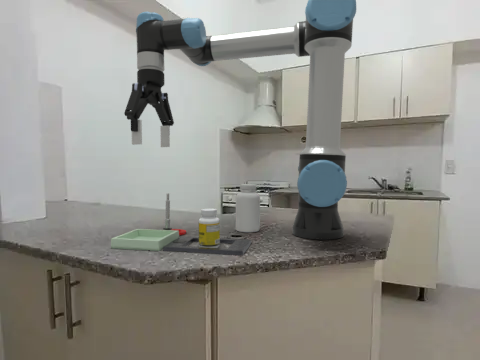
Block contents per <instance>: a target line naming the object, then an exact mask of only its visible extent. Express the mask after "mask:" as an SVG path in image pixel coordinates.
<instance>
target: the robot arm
mask: <svg viewBox="0 0 480 360" xmlns="http://www.w3.org/2000/svg"><path fill="white" fill-rule="evenodd" d="M304 13H305V20H304V21H297V22H296V23H295V25H293V26H283V27H276V28H269V29H268V28H266V29H258V30H249V31H239V32H232V33H224V34H223V33H222V34H215V35H207V31H206V26H205V24H204V21H203V20H202V19H201V18H200V17H185V18H180V19H179V18H178V19H170V20H169V19H168V20H164V18H163V16H162V15H161V14H159V13H158V12H154V11H153V12H150V11H143V12H141V13H139V14H137V17H136V26H135V27H136V28H135V33H136V69H137V72H136V78H137V79H136V80H137V82H133V83H132V84H131V85H132V86H131V93H130V95H129V98H128V101H127V104H126V107H125V110H124V113H123V114H124V116H125V117H126V119H127V120H130V131H131V144H132V145H134V146H135V145H143V132H142V130H143V128H142V127H143V125H142V121H143V120H142V119H140V117H141V116H142V114H143V112H144V111H145V109H146V108H147V105H150V106H152V108H154V109H155V112H156V114H157V117H158V119H159V121H160V123H161V125H160V126H159V127H160V148H170V142H171V141H170V139H171V138H170V134H171V133H170V132H171V131H170V130H171V129H170V127H172V126H173V125H175V122H174V121H175V120H174V118H173V114H172V110H171V106H170V102H169V94H168V92H163V91H162V88H163V87H164V86H165V72H164V71H165V51H169V50H170V51H171V50H173V51H174V50H180V51H181V52H182V53H183V54H184V55H186V57H188V58H189V60H190V61H191V62H192V63H193V64H195V65H196V66H198V67H206V66H208V65H209V64H211V63H212V62H219V61H221V62H222V61H229V60H230V61H231V60H239V59H250V58H251V59H252V58H263V57H273V56H274V57H275V56H284V55H296V56H297V57H298V58H300V57H301V58H302V57H309V71H308V72H309V73H308V90H307V91H308V93H307V94H308V95H307V96H308V97H307V114H306V115H307V116H306V136H305V137H306V139H305V146H304V147H305V148H304V149H303V150H302V151H301V152H299V162H298V166H297V171H298V178H297V184H296V185H297V190H298V208H297V212H296V216H295V217H294V218H295V219H294V221H293V224H292V235H294V236H296V237H298V238H303V239H309V240H310V239H311V240H321V241H322V240H325V241H326V240H337V239H342V238H343V237H344V227H343V223H342V220H341V217H340V213H339V207H338V206H339V203H338V202H339V201H340V200H341V199H342V198H343V197H344V195H345V193H346V190H347V186H348V180H347V176H346V157H347V154H346V153H345V152H344V151H343V150H342V149H341V130H342V112H343V94H344V78H345V77H344V75H345V55H346V53H347V52H348V51H349V50H350V49H351V47H352V45H353V44H352V43H353V42H352V41H353V29H354V28H353V25H354V24H353V23H354V19H355V16H356V14H357V1H356V0H307V3H306V7H305V11H304Z"/></svg>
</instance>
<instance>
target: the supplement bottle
mask: <svg viewBox="0 0 480 360" xmlns="http://www.w3.org/2000/svg"><path fill="white" fill-rule="evenodd" d="M200 210H201V211H200V213H201V214H200V215H201V217H199V219H198V237H199V242H198V247H206V248H220V246H221V243H220V238H221V236H220V235H221V232H220V228H221V226H220V225H221V223H220V218H219V217H217V215H218V214H217V213H218V212H217V211H218V210H217V208H213V207H212V208H201V209H200Z"/></svg>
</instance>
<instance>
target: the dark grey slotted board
mask: <svg viewBox="0 0 480 360" xmlns="http://www.w3.org/2000/svg"><path fill="white" fill-rule="evenodd" d="M193 242H194V243H199V236H184V235H180V236H179V238H178V239H176V240H174V241H173V242H171V243H169V244H167V245H166V246H164V247H163V249H162V250H163V252H175V251H187V252H186V253H193V252H202V253H201V254H210V253H215V254H214V255H230V256H231V255H232V256H243V255H245V253H246V251H247V250H248V249H249V247H250V245H252V239H246V238H243V239H242V238H225V237H224V238H223V237H220V244H230V245H229V247H227V248H226V247H225V248H224V247H223V248H222V247H218V248H206V247H199V246H189V245H191V244H192V243H193ZM190 243H191V244H190ZM187 245H188V246H187Z"/></svg>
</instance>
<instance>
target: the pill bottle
mask: <svg viewBox="0 0 480 360" xmlns="http://www.w3.org/2000/svg"><path fill="white" fill-rule="evenodd" d="M239 191H240V192H238V193H237V194H236V196H235V230H236V231H237V232H240V233H255V232H256V233H257V232H259V231H260V229H261V195H260V194H259V193H258V192H257V184H254V183H241V184H239Z"/></svg>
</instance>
